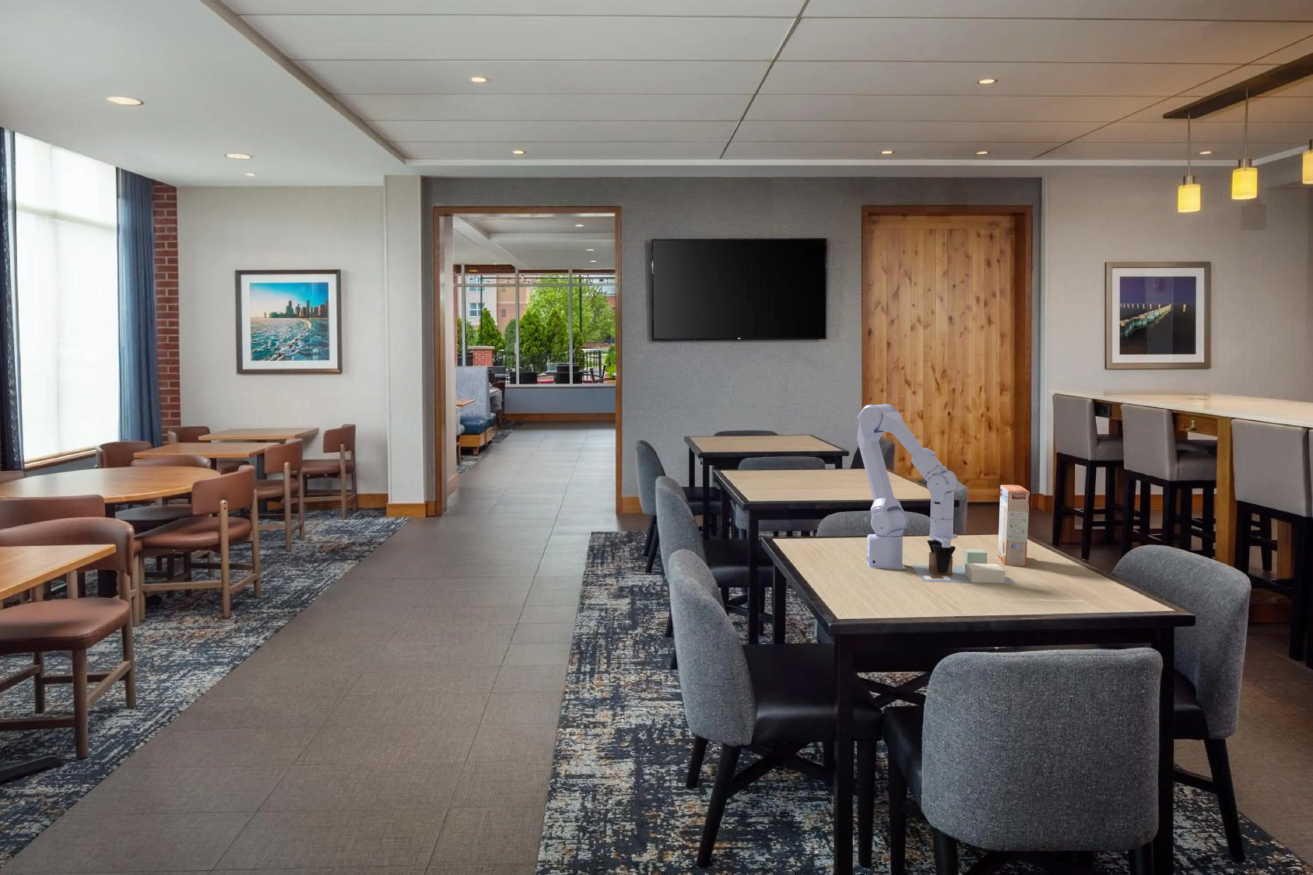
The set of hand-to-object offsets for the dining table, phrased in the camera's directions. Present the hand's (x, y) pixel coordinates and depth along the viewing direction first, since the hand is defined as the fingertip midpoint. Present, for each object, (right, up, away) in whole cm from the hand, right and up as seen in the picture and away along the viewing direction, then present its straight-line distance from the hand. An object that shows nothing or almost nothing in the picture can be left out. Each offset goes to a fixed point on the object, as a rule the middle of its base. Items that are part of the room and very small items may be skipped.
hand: (940, 569), depth 255 cm
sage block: (+11, -1, +5) cm, 12 cm away
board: (+5, -1, 0) cm, 5 cm away
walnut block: (0, -1, 0) cm, 1 cm away
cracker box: (+25, 0, +17) cm, 30 cm away
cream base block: (+10, -1, -6) cm, 11 cm away
